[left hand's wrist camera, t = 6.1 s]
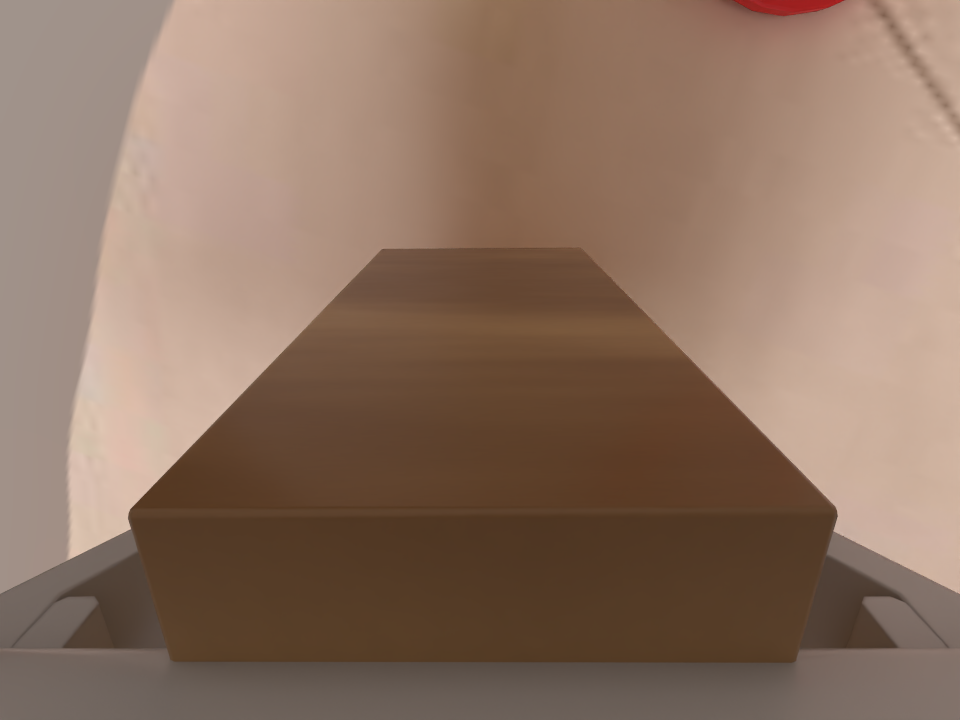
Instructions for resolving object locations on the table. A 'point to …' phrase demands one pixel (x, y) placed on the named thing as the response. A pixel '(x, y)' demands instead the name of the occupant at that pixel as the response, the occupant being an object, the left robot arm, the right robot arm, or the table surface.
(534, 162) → the table surface
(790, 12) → the tow hook
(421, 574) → the box
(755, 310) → the table surface
